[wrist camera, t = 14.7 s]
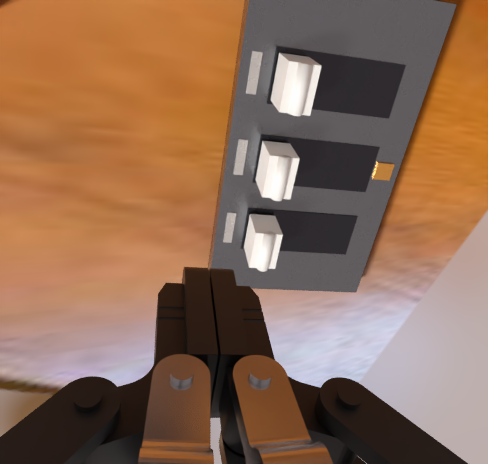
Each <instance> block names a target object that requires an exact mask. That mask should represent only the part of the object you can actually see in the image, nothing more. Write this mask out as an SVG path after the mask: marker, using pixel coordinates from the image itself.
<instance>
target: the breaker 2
mask: <svg viewBox="0 0 488 464" xmlns="http://www.w3.org/2000/svg"><path fill="white" fill-rule="evenodd" d="M320 71H321V65H320V64H318V63H317V62H316V61H314V60H313V59H311V58H310V57H306V56H299V55H292V54H285V53H279V56H278V62H277V67H276V73H275V78H274V84H273V89H272V95H271V101H272V103H273V104H274V106H275V107H276V108H277V110H278V111H279V112H281V113H288V114H290V115H293V116H301V115H307V116H310V114H311V110H312V106H313V101H314V97H315V93H316V88H317V84H318V79H319V75H320Z"/></svg>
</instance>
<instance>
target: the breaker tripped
mask: <svg viewBox="0 0 488 464" xmlns="http://www.w3.org/2000/svg"><path fill="white" fill-rule="evenodd" d="M299 159H300V158H299V157H298V155H297V154H296V152H295V150H294V149H293V147H292V146H291V144H290V143H280V142H271V141H262V147H261V152H260V158H259V163H258V169H257V174H256V183H257V185H258V188H259V191H260V193H261V196H262V197H265V198H271V199H272V200H274V201H282V199H291V194H292V190H293V186H294V181H295V177H296V173H297V168H298V164H299Z"/></svg>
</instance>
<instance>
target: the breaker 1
mask: <svg viewBox="0 0 488 464" xmlns="http://www.w3.org/2000/svg"><path fill="white" fill-rule="evenodd" d="M282 236H283V234H282V231H281V229H280V226H279V224H278V221H277V219H276V216H272V215H258V214H250V216H249V222H248V227H247V233H246V238H245V244H244V249H245V253H246V257H247V262H248V266H249V268H257V269H258V270H259V271H262V272H265V271H267V270H268V269H275V267H276V263H277V258H278V254H279V250H280V245H281V241H282Z"/></svg>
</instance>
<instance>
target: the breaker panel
mask: <svg viewBox="0 0 488 464" xmlns="http://www.w3.org/2000/svg"><path fill="white" fill-rule="evenodd" d="M456 6H457V4H452V3H446V2H441V1H435V0H245V3H244V10H243V18H242V25H241V32H240V39H239V47H238V54H237V61H236V68H235V75H234V83H233V90H232V97H231V104H230V112H229V119H228V126H227V133H226V141H225V148H224V155H223V162H222V170H221V177H220V184H219V191H218V198H217V206H216V213H215V220H214V227H213V235H212V242H211V249H210V256H209V264H208V270H209V268H217V269H233V270H234V274H235V279H236V285H237V286H250V288H257V289H283V290H308V291H334V292H356V291H357V288H358V286H359V283H360V280H361V277H362V274H363V271H364V268H365V266H366V263H367V260H368V257H369V254H370V251H371V248H372V246H373V243H374V240H375V237H376V234H377V231H378V228H379V226H380V223H381V220H382V217H383V214H384V211H385V208H386V206H387V203H388V200H389V197H390V194H391V191H392V188H393V186H394V183H395V180H396V177H397V174H398V171H399V168H400V166H401V163H402V160H403V157H404V154H405V151H406V148H407V146H408V143H409V140H410V137H411V134H412V131H413V128H414V126H415V123H416V120H417V117H418V114H419V111H420V108H421V106H422V103H423V100H424V97H425V94H426V91H427V88H428V86H429V83H430V80H431V77H432V74H433V71H434V68H435V66H436V63H437V60H438V57H439V54H440V51H441V48H442V46H443V43H444V40H445V37H446V34H447V31H448V28H449V26H450V23H451V20H452V17H453V14H454V11H455V8H456ZM279 53H285V54H292V55H299V56H306V57H310V58H311V59H313V60H314V61H316V62H317V63H318V64H320V65H321V71H320V75H319V79H318V84H317V88H316V93H315V97H314V101H313V106H312V110H311V114H310V116H307V115H301V116H293V115H290V114H288V113H281V112H279V111H278V110H277V108H276V107H275V106H274V104H273V103H272V101H271V95H272V89H273V84H274V78H275V73H276V67H277V62H278V56H279ZM262 141H271V142H280V143H290V144H291V146H292V147H293V149H294V150H295V152H296V154H297V155H298V157H299V158H300V159H299V164H298V168H297V173H296V177H295V181H294V186H293V190H292V194H291V199H282V201H274V200H272V199H271V198H265V197H262V196H261V193H260V191H259V188H258V185H257V183H256V174H257V169H258V163H259V158H260V152H261V147H262ZM250 214H258V215H272V216H276V219H277V221H278V224H279V226H280V229H281V231H282V234H283V236H282V241H281V245H280V250H279V254H278V258H277V263H276V267H275V269H268V270H267V271H265V272H262V271H259V270H258V269H257V268H249V266H248V262H247V257H246V253H245V249H244V244H245V238H246V233H247V227H248V222H249V216H250Z"/></svg>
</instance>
